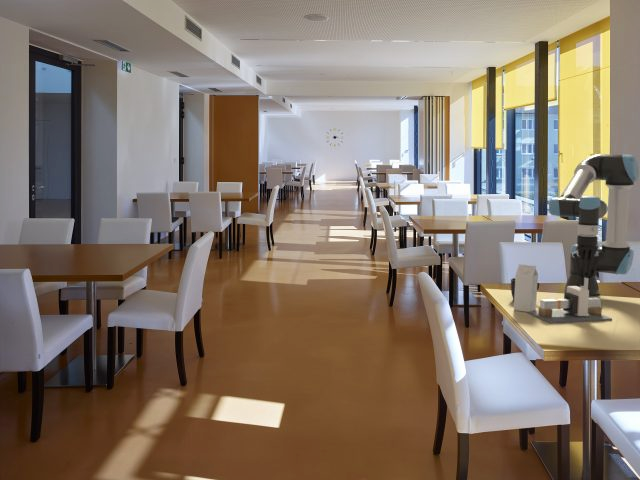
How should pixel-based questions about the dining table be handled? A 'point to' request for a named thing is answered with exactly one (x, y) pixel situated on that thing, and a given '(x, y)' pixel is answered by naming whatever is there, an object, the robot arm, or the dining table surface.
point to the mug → (514, 287)
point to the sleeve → (580, 299)
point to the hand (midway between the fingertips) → (583, 293)
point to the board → (569, 317)
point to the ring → (574, 304)
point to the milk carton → (525, 288)
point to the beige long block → (567, 306)
